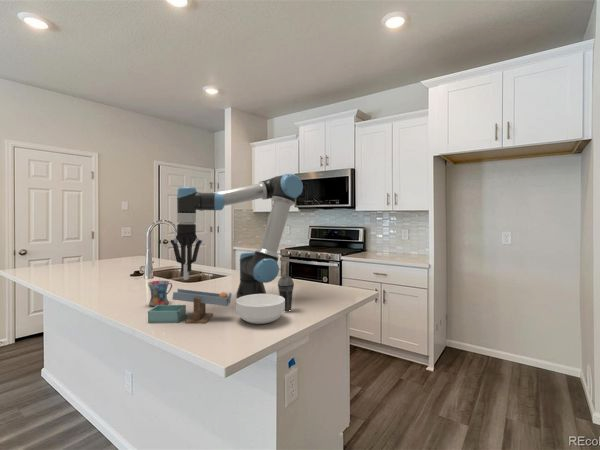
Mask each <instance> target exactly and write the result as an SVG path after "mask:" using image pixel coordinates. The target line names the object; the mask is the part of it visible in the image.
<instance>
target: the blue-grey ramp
mask: <svg viewBox="0 0 600 450" xmlns="http://www.w3.org/2000/svg"><path fill="white" fill-rule="evenodd" d="M219 295H220V293H219V292H218V293H217V292H208V291H199V290H192V289H183V288H177V291H173V293H172V298H171V299H172V300H173V301H180V302H191V303H194V298H200V303H205V304H206V305H215V306H224V307H228V306H229V305H230V303H231V300H232V299H231V298H232V292H228V293H227V298H222V297H219Z"/></svg>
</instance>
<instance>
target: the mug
mask: <svg viewBox="0 0 600 450" xmlns="http://www.w3.org/2000/svg"><path fill="white" fill-rule="evenodd" d="M169 285H170V288H169V290H168V287H169ZM147 286H148V287H149V291H150V301H149V303H148V305H149V306H151V307H155V306H156V305H169V300H168V296H167V295H168V294H169V293H170V292H171V290H172V288H173V284H172V283H171V282H170V281H169V280H152V281H149V282H148V283H147Z"/></svg>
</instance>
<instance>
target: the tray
mask: <svg viewBox="0 0 600 450" xmlns="http://www.w3.org/2000/svg"><path fill="white" fill-rule="evenodd" d="M186 316H187V305H186V304H166V305H156V306H152V307H151V309H149V310H148V311H147V323H149V324H151V323H152V324H157V323H159V324H160V323H161V324H163V323H164V324H165V323H170V324H171V323H176V324H177V323H180V322H182V320H183V319H185V317H186Z"/></svg>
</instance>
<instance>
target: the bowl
mask: <svg viewBox="0 0 600 450" xmlns="http://www.w3.org/2000/svg"><path fill="white" fill-rule="evenodd" d="M284 310H285V299H284V298H283V297H282V296H279V294H272V293H266V294H252V295H246V296H242V297H240V298H236V299H235V311H236V315H238V316H239V317H240V318H241V319H242V320H244V321H245V322H247V323H250V324H256V325H262V324H271V323H272V322H274V321H276V320H278V319H279V318H280V317H281V316H282V314H283V313H285V312H284Z"/></svg>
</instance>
